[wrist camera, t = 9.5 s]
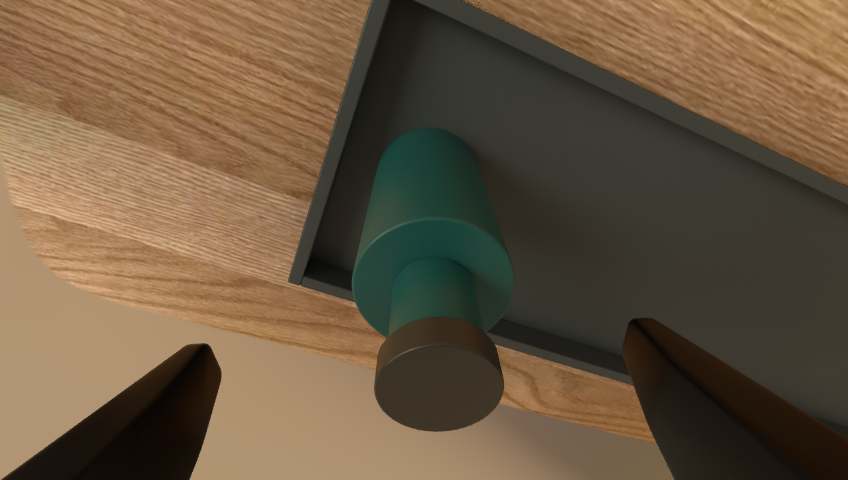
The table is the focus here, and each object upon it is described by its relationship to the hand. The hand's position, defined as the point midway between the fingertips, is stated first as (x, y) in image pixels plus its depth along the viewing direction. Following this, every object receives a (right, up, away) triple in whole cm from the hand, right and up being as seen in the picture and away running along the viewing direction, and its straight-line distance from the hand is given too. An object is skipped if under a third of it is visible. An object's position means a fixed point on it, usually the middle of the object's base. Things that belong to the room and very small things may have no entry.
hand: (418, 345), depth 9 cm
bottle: (0, +5, +9) cm, 10 cm away
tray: (+17, -1, +13) cm, 22 cm away
